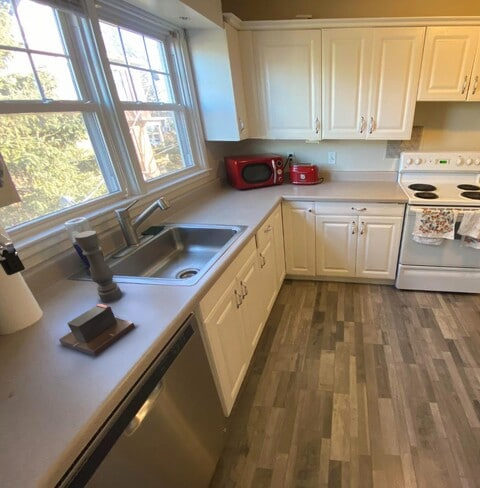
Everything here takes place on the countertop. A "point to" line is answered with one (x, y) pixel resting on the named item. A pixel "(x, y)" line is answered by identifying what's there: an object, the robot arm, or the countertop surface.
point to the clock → (92, 323)
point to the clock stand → (99, 338)
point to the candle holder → (98, 266)
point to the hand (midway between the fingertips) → (3, 269)
